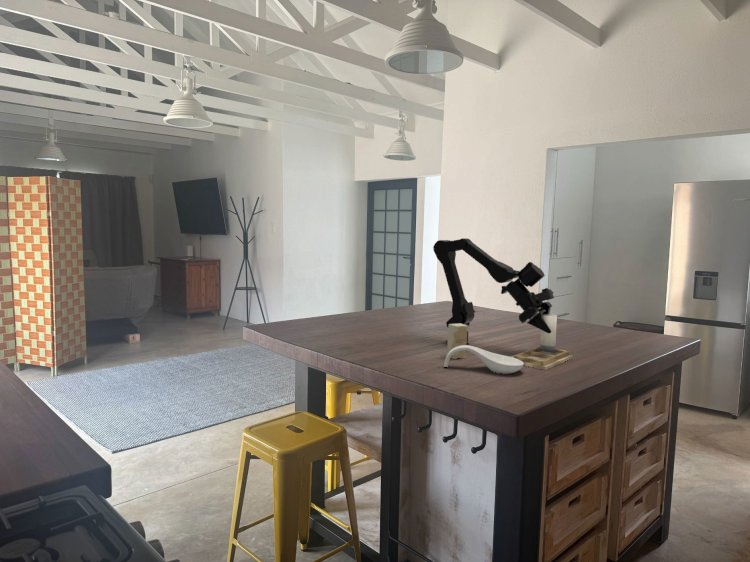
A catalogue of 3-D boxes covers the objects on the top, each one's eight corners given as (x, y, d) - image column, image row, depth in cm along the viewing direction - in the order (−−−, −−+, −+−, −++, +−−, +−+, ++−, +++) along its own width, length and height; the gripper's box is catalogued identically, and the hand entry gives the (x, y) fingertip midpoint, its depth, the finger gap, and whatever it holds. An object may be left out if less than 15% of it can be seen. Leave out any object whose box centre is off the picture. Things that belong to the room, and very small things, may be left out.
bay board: (504, 361, 172) (504, 354, 172) (533, 351, 187) (533, 344, 187) (545, 370, 162) (546, 362, 162) (572, 358, 178) (572, 351, 178)
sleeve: (538, 350, 177) (540, 315, 176) (542, 348, 181) (544, 313, 180) (552, 352, 174) (554, 316, 173) (556, 350, 178) (558, 315, 177)
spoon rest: (521, 368, 165) (523, 345, 164) (524, 379, 153) (526, 354, 153) (445, 362, 170) (446, 340, 169) (442, 372, 158) (443, 348, 157)
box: (453, 359, 173) (455, 326, 172) (446, 356, 177) (447, 323, 176) (466, 358, 175) (468, 325, 174) (459, 355, 179) (460, 322, 178)
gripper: (530, 282, 170) (563, 320, 165) (547, 278, 185) (578, 313, 180) (505, 304, 175) (536, 341, 170) (524, 298, 190) (553, 332, 185)
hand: (552, 331), depth 176 cm, fingers closed on sleeve, 5 cm apart
